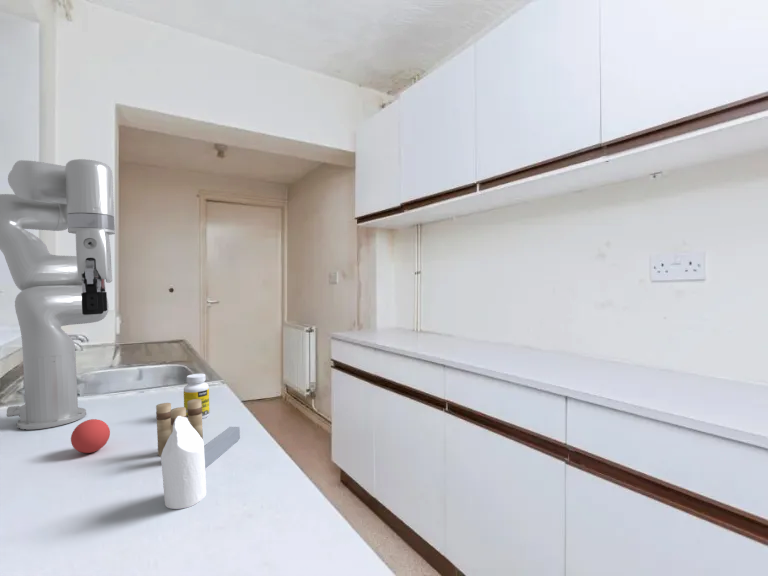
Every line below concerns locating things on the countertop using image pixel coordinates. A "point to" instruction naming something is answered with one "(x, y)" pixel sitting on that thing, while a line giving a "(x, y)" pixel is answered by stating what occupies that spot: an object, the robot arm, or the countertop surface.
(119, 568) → the countertop surface
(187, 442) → the white pointed column
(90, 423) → the ball
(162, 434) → the pin front
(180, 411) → the pin
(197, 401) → the pin
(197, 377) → the supplement bottle
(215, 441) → the stopper wall
